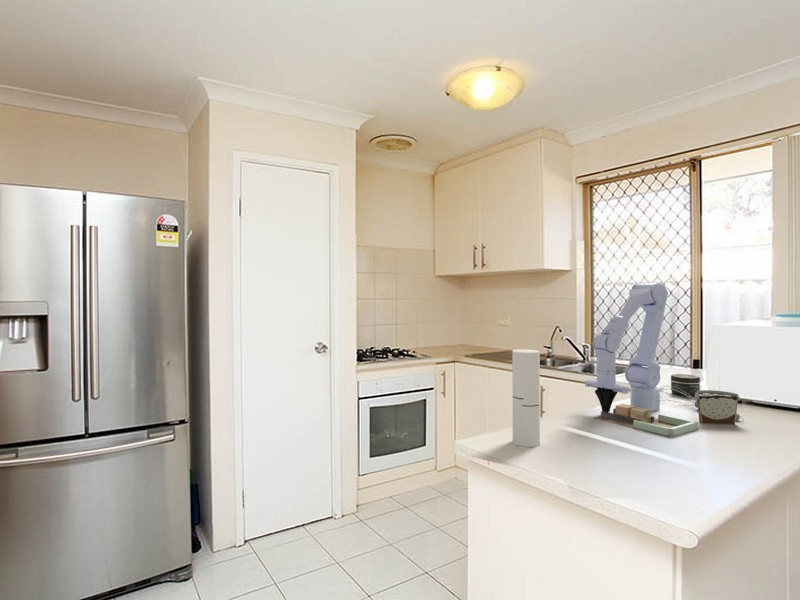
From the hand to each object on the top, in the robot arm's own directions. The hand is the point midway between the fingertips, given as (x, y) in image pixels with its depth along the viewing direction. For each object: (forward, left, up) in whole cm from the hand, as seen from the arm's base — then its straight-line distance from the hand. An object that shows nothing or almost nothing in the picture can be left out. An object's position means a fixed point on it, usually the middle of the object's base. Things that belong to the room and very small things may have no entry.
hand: (606, 411), depth 152 cm
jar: (-56, -4, -2) cm, 57 cm away
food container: (-20, +23, -2) cm, 30 cm away
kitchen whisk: (-36, +11, -2) cm, 37 cm away
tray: (0, +19, -1) cm, 19 cm away
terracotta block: (0, +7, -1) cm, 7 cm away
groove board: (0, +13, -2) cm, 13 cm away
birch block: (0, +12, -1) cm, 12 cm away
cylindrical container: (+42, +5, -2) cm, 42 cm away
